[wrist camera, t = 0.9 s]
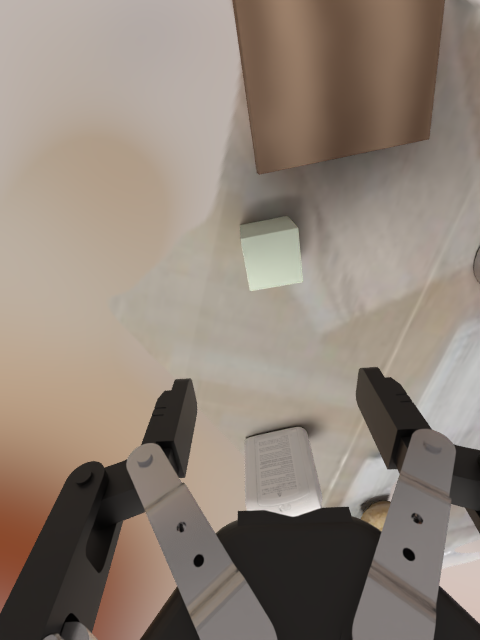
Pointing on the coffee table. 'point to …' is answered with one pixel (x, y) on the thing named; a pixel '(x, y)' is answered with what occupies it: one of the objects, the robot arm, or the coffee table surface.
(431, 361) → the coffee table surface
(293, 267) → the sage block
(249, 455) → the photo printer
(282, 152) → the walnut block
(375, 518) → the oil lamp
